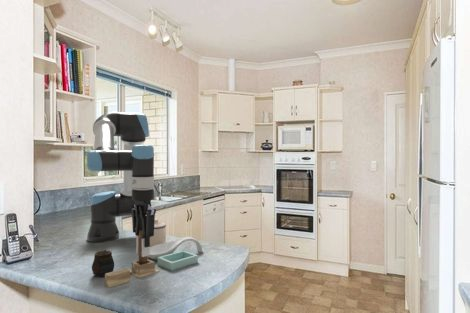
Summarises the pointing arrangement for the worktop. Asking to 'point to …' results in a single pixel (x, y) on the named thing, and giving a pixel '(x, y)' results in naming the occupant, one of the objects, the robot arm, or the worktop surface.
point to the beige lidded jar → (158, 233)
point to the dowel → (141, 259)
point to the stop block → (117, 277)
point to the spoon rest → (170, 247)
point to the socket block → (143, 269)
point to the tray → (177, 260)
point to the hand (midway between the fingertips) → (143, 254)
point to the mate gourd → (102, 263)
